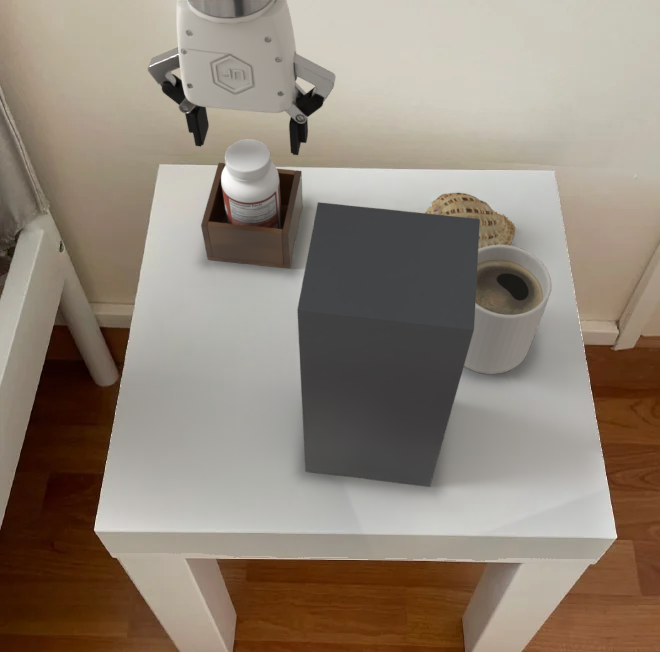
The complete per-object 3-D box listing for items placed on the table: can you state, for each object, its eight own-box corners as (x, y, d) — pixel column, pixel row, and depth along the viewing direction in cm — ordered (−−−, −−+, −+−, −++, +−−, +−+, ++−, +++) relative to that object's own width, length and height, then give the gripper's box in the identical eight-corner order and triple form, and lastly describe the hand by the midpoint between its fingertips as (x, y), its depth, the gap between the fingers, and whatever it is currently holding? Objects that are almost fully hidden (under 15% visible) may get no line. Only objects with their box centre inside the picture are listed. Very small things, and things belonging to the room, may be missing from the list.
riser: (305, 471, 77) (297, 310, 55) (319, 383, 82) (317, 201, 60) (430, 487, 76) (474, 330, 54) (437, 397, 81) (480, 218, 59)
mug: (543, 360, 84) (569, 302, 75) (460, 387, 82) (476, 330, 73) (497, 282, 89) (516, 219, 80) (418, 306, 87) (428, 244, 78)
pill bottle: (240, 202, 94) (231, 127, 84) (290, 215, 93) (286, 141, 83) (220, 241, 91) (207, 167, 81) (271, 255, 90) (264, 182, 80)
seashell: (478, 225, 97) (408, 212, 92) (507, 189, 92) (436, 173, 88) (499, 274, 93) (428, 264, 88) (530, 239, 89) (457, 226, 84)
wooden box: (207, 259, 90) (200, 225, 85) (223, 198, 95) (218, 162, 90) (290, 268, 90) (288, 234, 85) (302, 206, 94) (301, 170, 89)
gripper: (115, -1, 65) (156, 160, 80) (328, 16, 63) (330, 176, 78) (138, -55, 68) (173, 108, 83) (340, -41, 67) (339, 122, 82)
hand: (249, 140), depth 81 cm, fingers open, 9 cm apart
